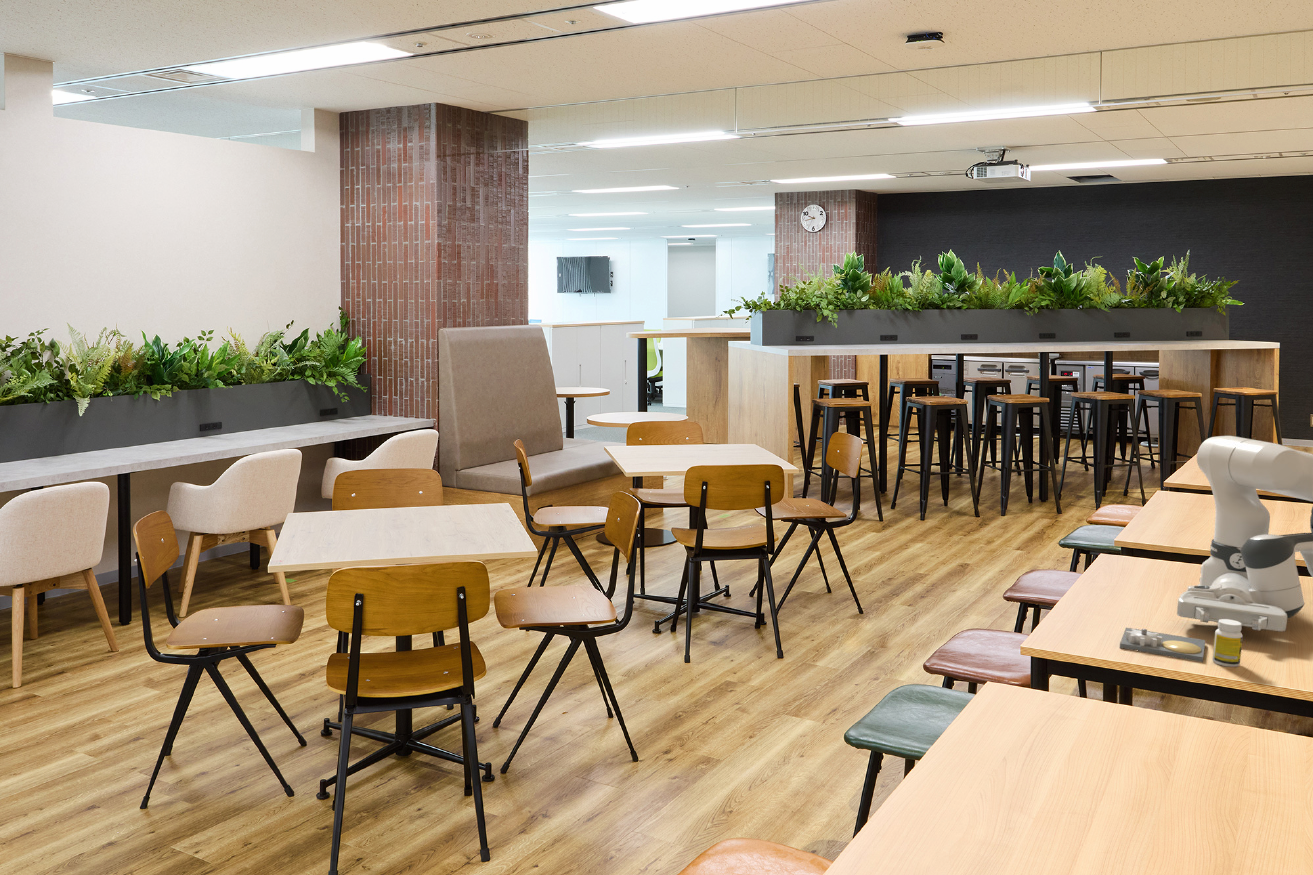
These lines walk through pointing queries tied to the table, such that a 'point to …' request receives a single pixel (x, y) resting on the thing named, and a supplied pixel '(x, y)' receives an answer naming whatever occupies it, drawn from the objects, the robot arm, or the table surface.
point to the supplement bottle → (1228, 643)
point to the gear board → (1163, 644)
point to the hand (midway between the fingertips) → (1230, 622)
